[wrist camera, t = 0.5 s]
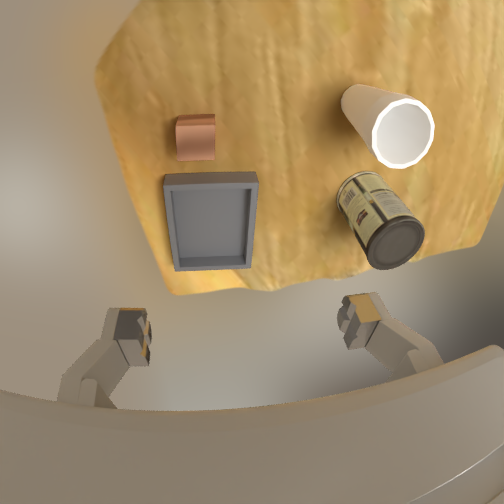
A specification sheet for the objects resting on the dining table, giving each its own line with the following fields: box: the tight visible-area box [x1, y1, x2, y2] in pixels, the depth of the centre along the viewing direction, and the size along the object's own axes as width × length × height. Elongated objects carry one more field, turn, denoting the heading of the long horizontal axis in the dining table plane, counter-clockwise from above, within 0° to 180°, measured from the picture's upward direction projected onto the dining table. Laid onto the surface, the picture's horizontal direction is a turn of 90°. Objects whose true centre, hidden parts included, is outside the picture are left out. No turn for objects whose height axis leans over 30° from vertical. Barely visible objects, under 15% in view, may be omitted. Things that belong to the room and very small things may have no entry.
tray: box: [163, 172, 259, 271], centre depth 50 cm, size 18×14×4 cm
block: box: [176, 114, 215, 161], centre depth 38 cm, size 5×5×5 cm
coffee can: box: [337, 171, 425, 270], centre depth 46 cm, size 10×10×14 cm
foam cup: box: [341, 84, 434, 169], centre depth 34 cm, size 10×9×13 cm
